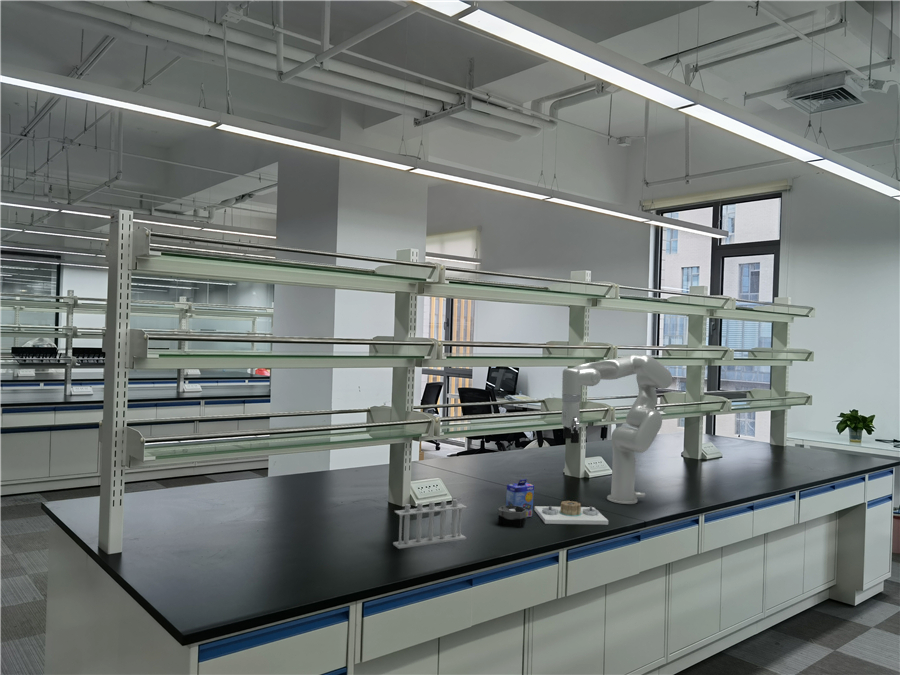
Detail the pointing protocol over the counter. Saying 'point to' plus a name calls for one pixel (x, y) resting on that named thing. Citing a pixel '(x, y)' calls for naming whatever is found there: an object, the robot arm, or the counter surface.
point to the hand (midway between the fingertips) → (570, 440)
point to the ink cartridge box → (521, 496)
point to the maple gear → (570, 508)
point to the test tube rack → (429, 524)
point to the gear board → (570, 516)
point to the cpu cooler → (511, 516)
